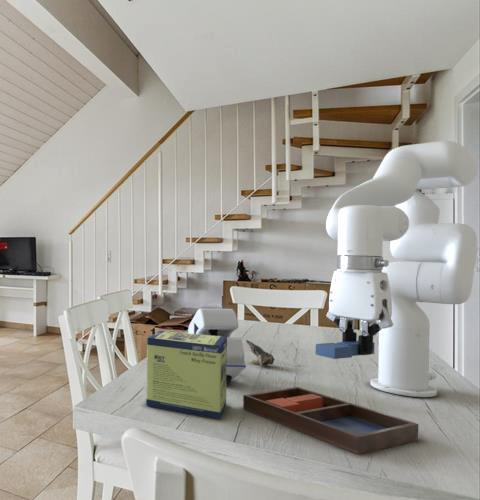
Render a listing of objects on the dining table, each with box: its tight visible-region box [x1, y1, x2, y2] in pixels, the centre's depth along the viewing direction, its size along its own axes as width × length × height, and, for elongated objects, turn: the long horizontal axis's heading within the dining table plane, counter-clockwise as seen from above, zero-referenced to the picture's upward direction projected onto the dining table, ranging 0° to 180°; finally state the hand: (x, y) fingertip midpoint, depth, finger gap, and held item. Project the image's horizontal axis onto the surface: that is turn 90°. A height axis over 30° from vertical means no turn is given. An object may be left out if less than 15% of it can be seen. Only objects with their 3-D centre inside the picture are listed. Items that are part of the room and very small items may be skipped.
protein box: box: [145, 330, 227, 420], centre depth 107 cm, size 10×16×16 cm
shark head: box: [245, 339, 275, 368], centre depth 142 cm, size 8×6×7 cm
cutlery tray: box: [242, 386, 419, 456], centre depth 97 cm, size 17×24×3 cm
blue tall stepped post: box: [315, 340, 375, 360], centre depth 99 cm, size 13×4×2 cm, turn 110°
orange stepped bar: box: [266, 394, 323, 412], centre depth 102 cm, size 13×4×2 cm, turn 111°
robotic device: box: [187, 307, 247, 386], centre depth 129 cm, size 10×21×20 cm
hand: (357, 352), depth 100 cm, fingers closed on blue tall stepped post, 2 cm apart
